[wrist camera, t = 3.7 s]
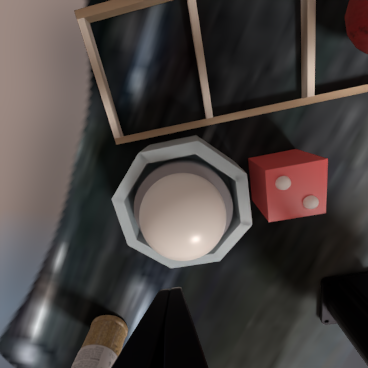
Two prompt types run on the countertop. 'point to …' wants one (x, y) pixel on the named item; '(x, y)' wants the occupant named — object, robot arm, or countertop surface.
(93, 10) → the wooden frame with crossbars
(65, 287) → the countertop surface
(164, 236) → the dome
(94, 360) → the sprinkles bottle
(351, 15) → the onion
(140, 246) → the dome base
